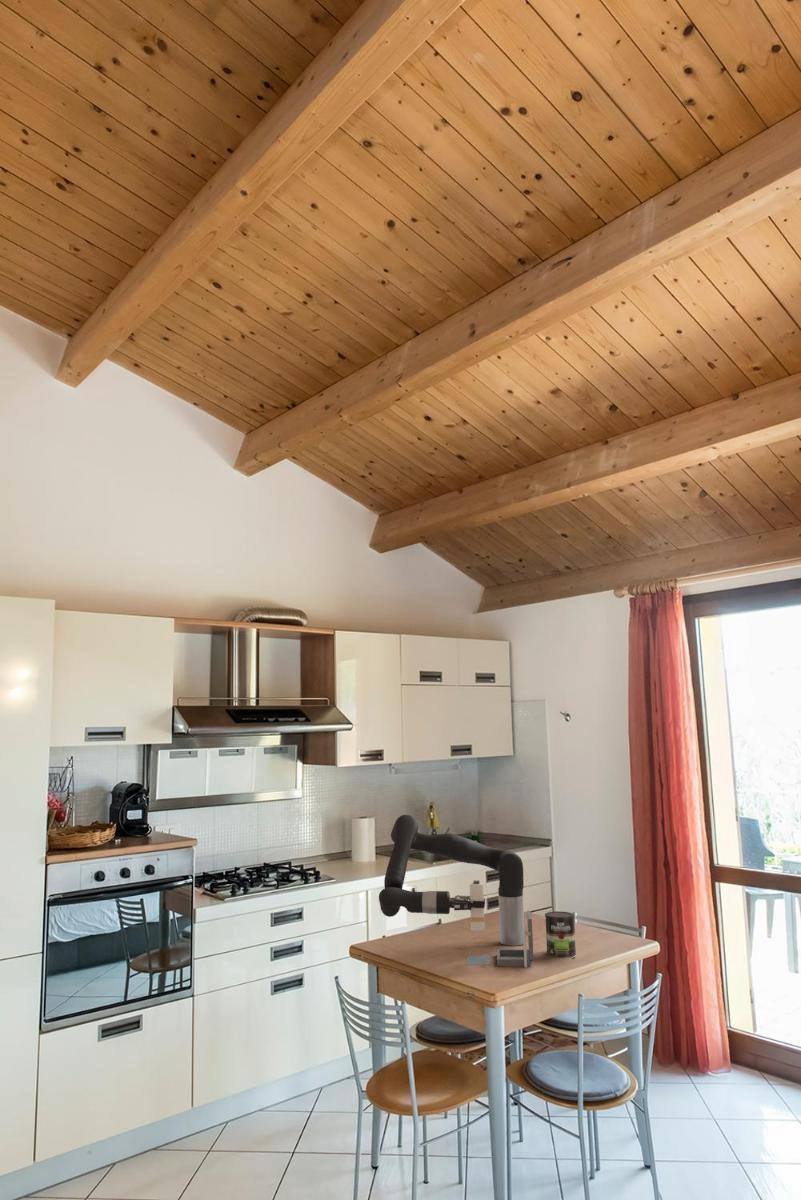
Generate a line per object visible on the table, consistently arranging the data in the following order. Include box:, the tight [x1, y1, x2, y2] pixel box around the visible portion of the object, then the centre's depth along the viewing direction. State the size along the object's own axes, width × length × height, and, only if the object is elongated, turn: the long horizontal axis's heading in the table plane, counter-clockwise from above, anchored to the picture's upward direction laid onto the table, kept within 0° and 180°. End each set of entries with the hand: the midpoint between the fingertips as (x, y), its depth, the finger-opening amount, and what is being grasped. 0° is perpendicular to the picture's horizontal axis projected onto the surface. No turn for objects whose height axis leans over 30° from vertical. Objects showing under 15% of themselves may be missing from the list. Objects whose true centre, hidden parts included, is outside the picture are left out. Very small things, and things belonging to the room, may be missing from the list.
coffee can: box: [544, 911, 577, 959], centre depth 290 cm, size 10×10×14 cm
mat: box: [465, 955, 491, 966], centre depth 281 cm, size 12×8×1 cm, turn 173°
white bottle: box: [469, 880, 485, 931], centre depth 284 cm, size 5×4×16 cm
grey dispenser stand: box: [496, 910, 535, 969], centre depth 280 cm, size 15×12×16 cm
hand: (484, 903), depth 284 cm, fingers closed on white bottle, 5 cm apart
